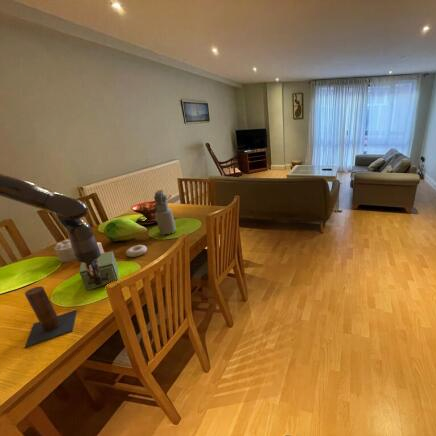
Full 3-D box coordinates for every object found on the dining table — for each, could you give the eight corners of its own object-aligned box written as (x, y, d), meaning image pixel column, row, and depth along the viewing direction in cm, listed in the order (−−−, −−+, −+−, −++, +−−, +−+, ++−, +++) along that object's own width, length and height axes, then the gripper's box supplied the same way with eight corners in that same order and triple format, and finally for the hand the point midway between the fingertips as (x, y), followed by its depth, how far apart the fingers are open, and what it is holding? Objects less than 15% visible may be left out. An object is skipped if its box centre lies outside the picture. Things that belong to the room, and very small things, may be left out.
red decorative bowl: (172, 211, 196) (168, 192, 190) (178, 220, 177) (174, 200, 171) (132, 219, 181) (126, 199, 175) (135, 230, 163) (128, 207, 156)
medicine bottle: (105, 253, 134) (98, 234, 130) (94, 260, 128) (87, 240, 123) (93, 253, 135) (85, 233, 130) (81, 259, 128) (74, 240, 123)
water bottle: (174, 234, 156) (165, 193, 145) (158, 236, 153) (148, 194, 143) (177, 228, 165) (169, 189, 154) (161, 230, 162) (152, 190, 152)
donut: (150, 248, 139) (131, 249, 138) (149, 243, 138) (129, 244, 136) (143, 257, 130) (123, 259, 129) (142, 251, 129) (121, 253, 127)
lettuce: (150, 234, 161) (143, 248, 149) (111, 231, 155) (100, 245, 142) (149, 215, 155) (142, 228, 142) (109, 211, 148) (97, 224, 135)
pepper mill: (59, 327, 85) (41, 291, 79) (42, 333, 83) (22, 296, 77) (61, 320, 89) (44, 284, 83) (45, 325, 86) (26, 289, 80)
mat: (72, 331, 85) (72, 330, 84) (25, 348, 78) (24, 347, 78) (76, 310, 94) (76, 309, 93) (34, 324, 87) (33, 323, 87)
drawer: (116, 286, 106) (111, 271, 103) (86, 295, 101) (80, 280, 98) (116, 268, 119) (111, 254, 116) (89, 275, 113) (84, 261, 110)
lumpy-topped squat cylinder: (87, 248, 139) (82, 235, 136) (79, 259, 128) (73, 245, 125) (65, 252, 136) (59, 238, 132) (54, 263, 124) (47, 249, 121)
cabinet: (118, 280, 111) (112, 263, 107) (86, 290, 105) (79, 272, 101) (118, 267, 121) (112, 250, 118) (89, 275, 115) (82, 258, 112)
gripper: (75, 244, 97) (89, 279, 104) (71, 257, 87) (86, 296, 94) (98, 239, 101) (110, 273, 108) (96, 251, 91) (109, 288, 98)
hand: (99, 284), depth 101 cm, fingers closed
